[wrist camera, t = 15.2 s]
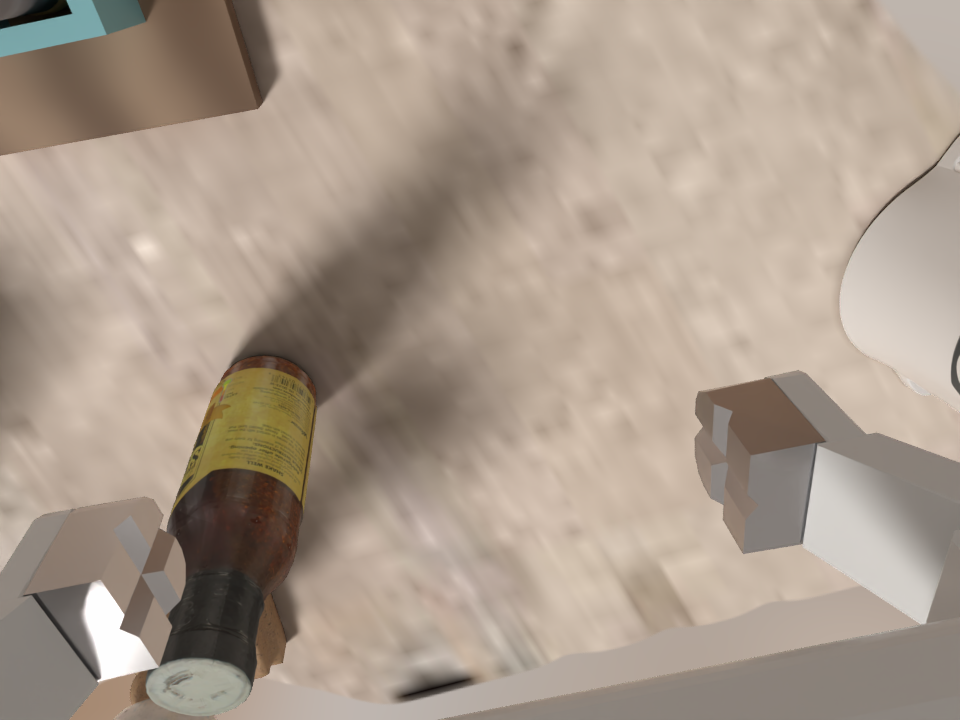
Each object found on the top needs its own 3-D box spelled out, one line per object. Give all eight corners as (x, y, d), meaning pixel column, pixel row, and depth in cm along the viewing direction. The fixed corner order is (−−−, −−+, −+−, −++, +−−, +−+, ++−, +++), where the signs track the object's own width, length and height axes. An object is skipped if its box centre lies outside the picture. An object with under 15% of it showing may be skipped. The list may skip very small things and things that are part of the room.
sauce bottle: (206, 355, 41) (79, 639, 24) (311, 345, 42) (256, 618, 25) (231, 440, 45) (134, 741, 28) (327, 430, 45) (290, 721, 28)
